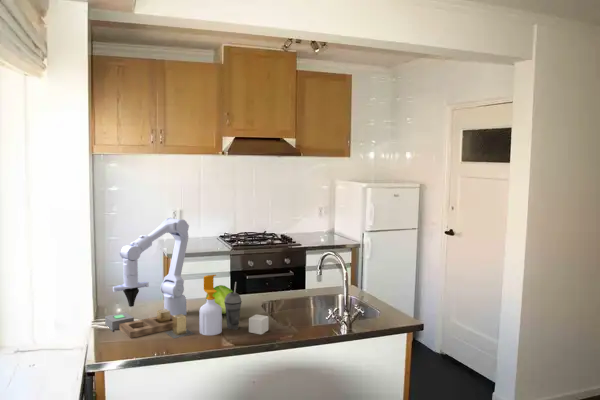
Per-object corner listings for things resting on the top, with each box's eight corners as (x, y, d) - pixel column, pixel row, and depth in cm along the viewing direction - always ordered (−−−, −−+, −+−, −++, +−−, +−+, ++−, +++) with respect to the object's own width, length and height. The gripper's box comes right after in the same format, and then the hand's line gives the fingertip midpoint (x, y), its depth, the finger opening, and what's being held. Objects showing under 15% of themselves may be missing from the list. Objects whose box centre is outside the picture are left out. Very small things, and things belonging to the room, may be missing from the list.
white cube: (255, 328, 217) (256, 314, 217) (268, 330, 215) (268, 316, 214) (248, 332, 212) (248, 318, 211) (261, 334, 209) (261, 320, 209)
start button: (122, 321, 219) (122, 314, 219) (125, 323, 217) (125, 316, 216) (113, 323, 217) (113, 316, 217) (116, 325, 214) (116, 318, 214)
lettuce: (211, 322, 223) (211, 296, 222) (203, 309, 242) (203, 284, 241) (242, 319, 227) (242, 293, 226) (232, 306, 246) (232, 282, 245)
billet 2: (181, 330, 211) (181, 313, 210) (186, 333, 208) (186, 316, 207) (172, 332, 209) (172, 315, 208) (177, 335, 206) (176, 318, 205)
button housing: (126, 321, 223) (126, 312, 223) (133, 326, 216) (133, 317, 216) (105, 325, 218) (105, 316, 217) (112, 331, 211) (112, 321, 210)
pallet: (170, 320, 225) (169, 313, 225) (182, 328, 216) (182, 321, 215) (119, 331, 211) (119, 324, 211) (130, 339, 202) (130, 332, 202)
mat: (184, 328, 215) (184, 327, 215) (194, 335, 208) (194, 333, 208) (164, 333, 209) (164, 332, 209) (173, 339, 202) (173, 338, 202)
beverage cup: (224, 325, 219) (224, 279, 217) (241, 325, 220) (242, 279, 218) (223, 331, 212) (223, 284, 210) (241, 331, 213) (241, 284, 211)
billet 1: (166, 324, 220) (166, 308, 219) (170, 327, 216) (170, 311, 216) (157, 326, 217) (157, 310, 216) (161, 329, 214) (160, 313, 213)
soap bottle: (203, 338, 204) (203, 277, 202) (196, 330, 213) (196, 272, 210) (224, 334, 209) (224, 275, 206) (217, 327, 217) (217, 270, 214)
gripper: (144, 270, 221) (144, 300, 222) (109, 274, 212) (110, 306, 213) (150, 273, 215) (150, 304, 217) (115, 278, 206) (116, 310, 208)
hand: (131, 306), depth 214 cm, fingers closed
